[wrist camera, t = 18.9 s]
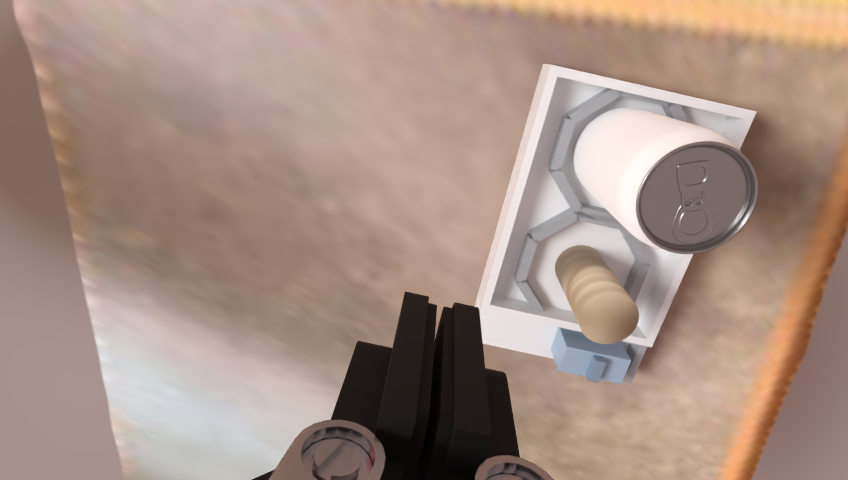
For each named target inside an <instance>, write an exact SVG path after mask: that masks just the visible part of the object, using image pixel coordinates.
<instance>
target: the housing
mask: <svg viewBox="0 0 848 480" xmlns="http://www.w3.org/2000/svg"><path fill="white" fill-rule="evenodd" d="M618 108H636V109H641V110H644V111H648V112H652V113H656V114H659V115H663V116H666V117H670V118H673V119H677V120H680V121H684V122H687V123H690V124H694V125H697V126H700V127H704V128H707V129H710V130H712V131H715V132H717V133H720V134H721V135H723V136H725V137H727V138H728V139H729V140H731V141H732V142H733V143H734V144H735V145H736V146H737V147H738V148H739V150H740V148H741V146H742V144H743V142H744V139H745V137H746V135H747V133H748V130H749V128H750V126H751V124H752V121H753V119H754V117H755V115H756V111H751V110H747V109H743V108H738V107H734V106H730V105H725V104H721V103H717V102H712V101H708V100H703V99H699V98H695V97H690V96H686V95H682V94H677V93H673V92H669V91H664V90H660V89H655V88H651V87H647V86H642V85H638V84H634V83H629V82H625V81H621V80H616V79H612V78H607V77H603V76H599V75H594V74H590V73H586V72H581V71H577V70H573V69H568V68H564V67H560V66H555V65H550V64H543V66H542V70H541V73H540V77H539V80H538V84H537V87H536V91H535V94H534V98H533V101H532V105H531V108H530V112H529V115H528V119H527V123H526V126H525V130H524V133H523V137H522V140H521V144H520V147H519V151H518V154H517V158H516V161H515V165H514V168H513V172H512V176H511V179H510V183H509V186H508V190H507V193H506V197H505V200H504V204H503V207H502V211H501V214H500V218H499V221H498V225H497V228H496V232H495V236H494V239H493V243H492V246H491V250H490V253H489V257H488V260H487V264H486V267H485V271H484V274H483V278H482V281H481V285H480V289H479V292H478V296H477V299H476V303H475V306H474V307H478V308H479V312H480V322H481V332H482V343H483V344H488V345H493V346H497V347H502V348H506V349H511V350H516V351H520V352H525V353H529V354H534V355H539V356H543V357H548V358H552V359H554V357H553V354H552V351H551V347H552V344H553V341H554V338H555V335H556V333H557V330H558V327H560V328H565V329H570V330H574V331H579V332H582V330H581V328H580V326H579V324H578V322H577V320H576V318H575V315H574V313H573V311H572V309H571V307H570V304H569V302H568V300H567V298H566V296H565V294H564V291H563V289H562V287H561V285H560V283H559V281H558V278H557V276H556V273H555V263H556V260H557V258H558V257H559V255H560V254H561V253H562V252H563V251H564V250H566V249H567V248H570V247H572V246H576V245H585V246H589V247H591V248H593V249H595V250H596V251H597V252H598V253H599V255H600V256H601V257H602V259H603V260H604V262H605V263H606V264H607V266H608V267H609V268H610V270H611V271H612V273H613V274H614V275H615V277H616V278H617V280H618V281H619V282H620V284H621V285H622V286H623V288H624V289H625V291H626V292H627V293H628V295H629V296H630V298H631V299H632V300H633V302H634V303H635V305H636V306H637V308H638V311H639V321H638V324H637V327H636V328H635V330H634V331H633V333H632V334H631V335H630V336H628V337H627V338H626V339H624V340H622V341H620V342H621V344H622V345H623V347H624V349H625V350H626V352H627V354H628V356H629V357H630V359H631V362H630V365H629V367H628V369H627V372H626V374H625V376H624V379H623V381H624V382H627V383H632V380H633V378H634V376H635V374H636V371H637V369H638V367H639V365H640V362H641V360H642V358H643V356H644V353H645V351H646V349H647V346H648V347H652V346H653V343H654V341H655V339H656V337H657V335H658V332H659V330H660V328H661V326H662V323H663V321H664V319H665V317H666V314H667V312H668V310H669V308H670V305H671V303H672V301H673V299H674V296H675V294H676V292H677V290H678V287H679V285H680V283H681V281H682V278H683V276H684V274H685V272H686V269H687V267H688V265H689V263H690V260H691V258H692V256H693V254H677V253H672V252H669V251H666V250H663V249H658V248H655V247H652V246H649V245H647V244H645V243H643V242H642V241H640V240H638V239H637V238H636V237H634V236H633V235H632V234H631V233H630V232H629V231H628V230H627V229H625V228H624V227H623V226H622V225H621V224H620V223H619V222H618V221H617V220H616V219H615V218H614V217H613V216H612V215H611V214H610V213H609V212H608V211H607V210H606V209H605V208H604V207H603V206H602V205H601V204H600V203H599V202H598V201H597V200H596V199H595V198H594V197H593V196H592V195H591V193H590V192H589V191H588V190H587V189H586V188H585V187H584V186H583V185H582V183H581V182H580V180H579V178H578V177H577V174H576V171H575V167H574V151H575V147H576V143H577V141H578V139H579V137H580V135H581V133H582V132H583V130H584V129H585V128H586V127H587V125H588V124H589V123H590V122H592V121H593V120H594V119H595V118H597V117H598V116H600V115H601V114H603V113H605V112H608V111H610V110H614V109H618Z"/></svg>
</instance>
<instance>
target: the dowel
mask: <svg viewBox="0 0 848 480" xmlns="http://www.w3.org/2000/svg"><path fill="white" fill-rule="evenodd" d="M555 273H556V276H557V278H558V281H559V283H560V285H561V287H562V289H563V291H564V294H565V296H566V298H567V300H568V302H569V304H570V307H571V309H572V311H573V313H574V315H575V318H576V320H577V322H578V324H579V326H580V328H581V330H582V332H583V334H584V335H585V336H586V337H587V338H588V339H590V340H591V341H593V342H596V343H599V344H613V343H617V342H620V341H622V340H624V339H626V338H627V337H628V336H630V335H631V334H632V333H633V331H634V330H635V328H636V327H637V324H638V321H639V311H638V308H637V306H636V305H635V303H634V302H633V300H632V299H631V298H630V296H629V295H628V293H627V292H626V291H625V289H624V288H623V286H622V285H621V284H620V282H619V281H618V280H617V278H616V277H615V275H614V274H613V273H612V271H611V270H610V268H609V267H608V266H607V264H606V263H605V262H604V260H603V259H602V257H601V256H600V255H599V253H598V252H597V251H596V250H595V249H593V248H591V247H589V246H585V245H576V246H572V247H570V248H567V249H566V250H564V251H563V252H562V253H561V254H560V255H559V257H558V258H557V260H556V263H555Z"/></svg>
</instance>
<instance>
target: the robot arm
mask: <svg viewBox="0 0 848 480" xmlns="http://www.w3.org/2000/svg"><path fill="white" fill-rule="evenodd" d="M428 300H429V297H428V296H423V295H419V294H414V293H409V292H405V294H404V299H403V303H402V308H401V312H400V317H399V321H398V326H397V330H396V335H395V339H394V344H393V348H389V347H384V346H380V345H375V344H371V343H366V342H361V341H358V342H357V344H356V347H355V350H354V353H353V356H352V359H351V362H350V365H349V368H348V371H347V374H346V377H345V380H344V383H343V385H342V388H341V391H340V394H339V397H338V400H337V403H336V406H335V409H334V412H333V415H332V418H331V420H326V421H322V422H318V423H314V424H313V425H311V426H309V427H307V428H306V429H304V430H303V431H302V432H301V433H300V434H299V435H298V436H297V437H296V438H295V440H294V441H293V443H292V444H291V446H290V447H289V449H288V450H287V452H286V454H285V455H284V457H283V458H282V460H281V461H280V463H279V464H278V466H277V467H276V469H275V470H273V471H271V472H268V473H266V474H264V475H261V476H259V477H257V478H255V479H252V480H554V479H553V478H552V477H551V476H550V475H549V474H548V473H547V472H546V471H544V470H543V469H541V468H540V467H539V466H537V465H536V464H534V463H532V462H529V461H527V460H525V459H523V458H520V456H519V450H518V444H517V438H516V431H515V425H514V419H513V413H512V407H511V401H510V395H509V388H508V382H507V377H506V374H505V373H504V372H500V371H496V370H491V369H486V368H485V363H484V353H483V343H482V332H481V322H480V312H479V308H478V307H474V306H469V305H464V304H460V303H454V305H453V307H452V308H448V307H444V308H443V311H442V315H441V319H440V322H439V326H438V330H437V334H436V338H435V326H436V311H437V305H435V304H430V303H428ZM434 340H435V342H434Z"/></svg>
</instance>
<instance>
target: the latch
mask: <svg viewBox="0 0 848 480" xmlns="http://www.w3.org/2000/svg"><path fill="white" fill-rule="evenodd" d="M551 351H552V354H553V357H554V360H555V363H556V366H557V369H558V371H563V372H567V373H572V374H577V375H581V376H586V377H587V379H588V381H593V382H597V383H598V382H599V380H604V381H609V382H614V383H618V384H621V383H622V381H623V379H624V376H625V374H626V372H627V369H628V367H629V365H630V362H631V359H630V357H629V356H628V354H627V352H626V350H625V349H624V347H623V345H622V344H621V342H617V343H613V344H599V343H596V342H593V341H591V340H590V339H588V338H587V337H586V336H585V335H584V334H583V332H579V331H574V330H570V329H565V328H560V327H558V330H557V333H556V335H555V338H554V341H553V344H552V347H551Z"/></svg>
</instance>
